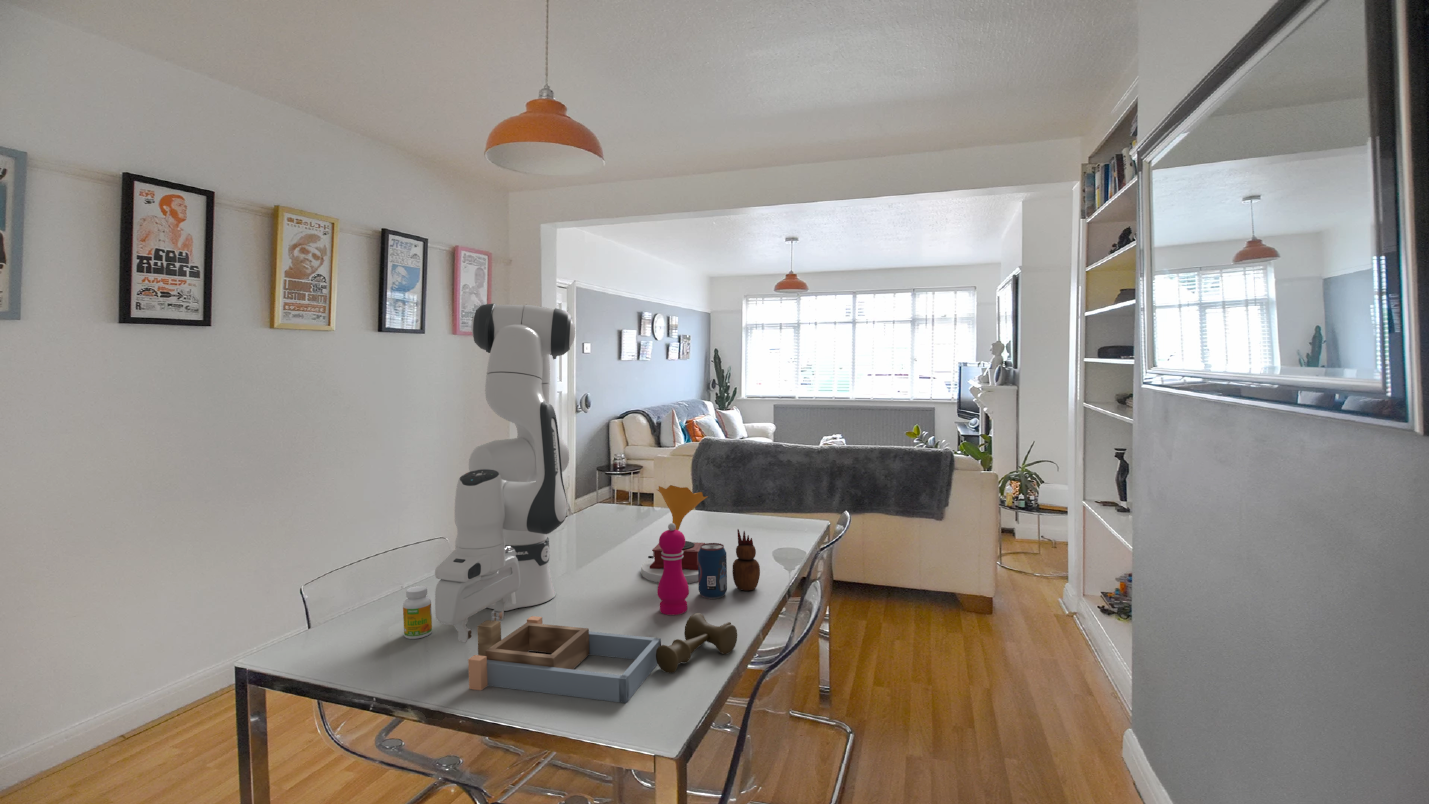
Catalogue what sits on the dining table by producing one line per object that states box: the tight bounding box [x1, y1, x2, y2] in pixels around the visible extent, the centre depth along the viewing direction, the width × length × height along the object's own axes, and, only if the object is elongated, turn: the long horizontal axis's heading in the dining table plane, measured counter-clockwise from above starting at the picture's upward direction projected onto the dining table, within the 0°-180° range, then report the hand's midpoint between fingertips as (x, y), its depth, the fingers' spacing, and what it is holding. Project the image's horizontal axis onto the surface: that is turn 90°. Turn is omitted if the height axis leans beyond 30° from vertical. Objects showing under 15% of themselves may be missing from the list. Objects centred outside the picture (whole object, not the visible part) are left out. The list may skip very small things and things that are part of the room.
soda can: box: [697, 542, 728, 600], centre depth 157 cm, size 7×7×12 cm
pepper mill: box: [656, 522, 690, 616], centre depth 147 cm, size 7×7×20 cm
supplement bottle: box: [402, 585, 433, 640], centre depth 136 cm, size 5×5×10 cm
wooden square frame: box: [476, 619, 590, 670], centre depth 120 cm, size 19×13×7 cm
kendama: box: [656, 612, 738, 674], centre depth 124 cm, size 6×10×20 cm
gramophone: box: [640, 484, 709, 584], centre depth 176 cm, size 20×20×25 cm
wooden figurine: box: [732, 528, 761, 592], centre depth 161 cm, size 7×6×15 cm
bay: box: [467, 615, 662, 704], centre depth 118 cm, size 28×20×5 cm
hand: (481, 629), depth 122 cm, fingers open, 8 cm apart
